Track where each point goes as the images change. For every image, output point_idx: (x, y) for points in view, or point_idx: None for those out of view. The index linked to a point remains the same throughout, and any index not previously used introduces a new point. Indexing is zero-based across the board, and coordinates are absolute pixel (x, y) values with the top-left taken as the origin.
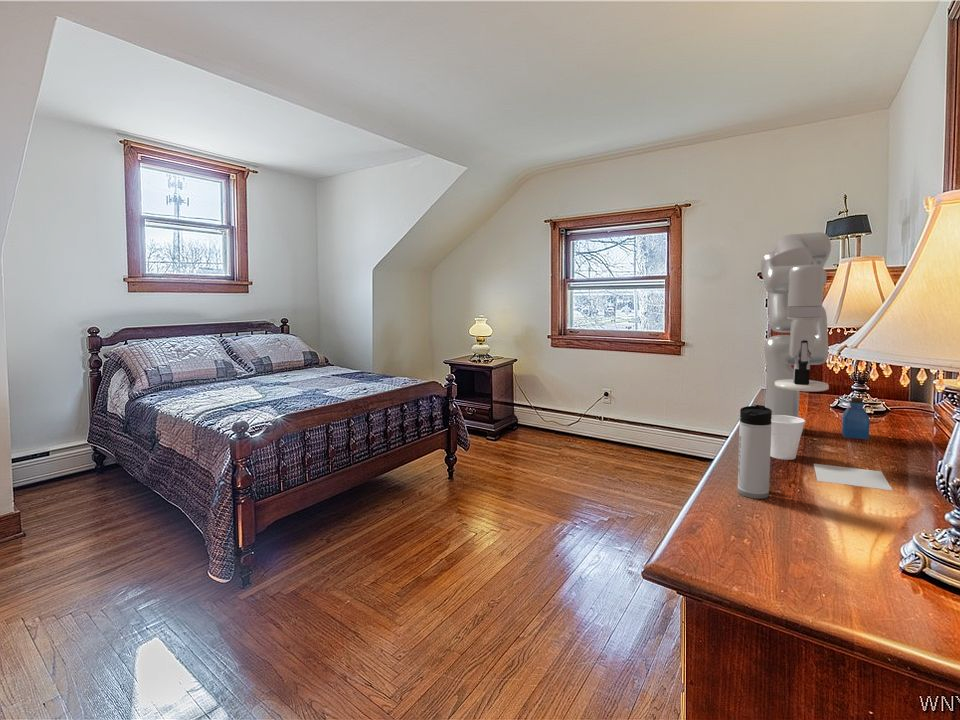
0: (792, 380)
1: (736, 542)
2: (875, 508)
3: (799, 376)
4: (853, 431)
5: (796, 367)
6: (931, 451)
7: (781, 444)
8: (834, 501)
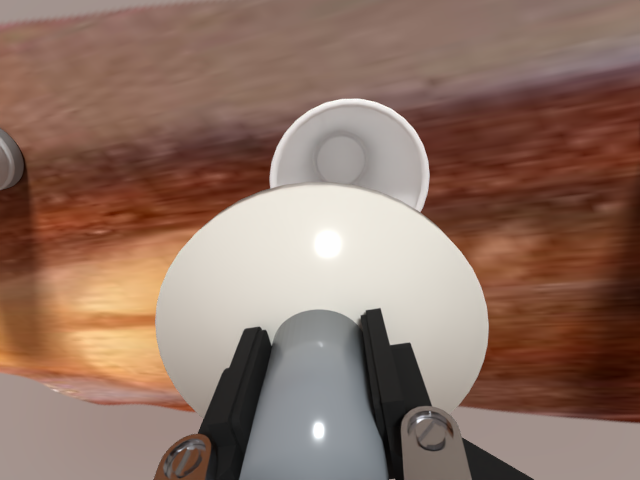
0: (420, 293)
1: None
2: (109, 344)
3: (214, 398)
4: None
5: (204, 450)
6: (565, 412)
7: (297, 171)
8: (89, 292)
